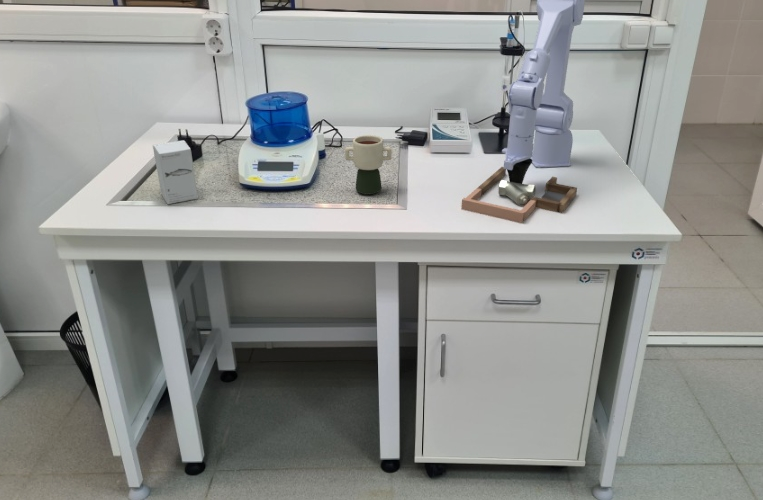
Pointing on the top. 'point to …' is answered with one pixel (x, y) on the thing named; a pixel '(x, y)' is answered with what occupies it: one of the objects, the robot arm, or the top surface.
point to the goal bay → (496, 208)
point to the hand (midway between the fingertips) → (515, 188)
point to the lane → (551, 200)
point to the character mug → (368, 162)
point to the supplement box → (175, 171)
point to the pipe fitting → (517, 191)
